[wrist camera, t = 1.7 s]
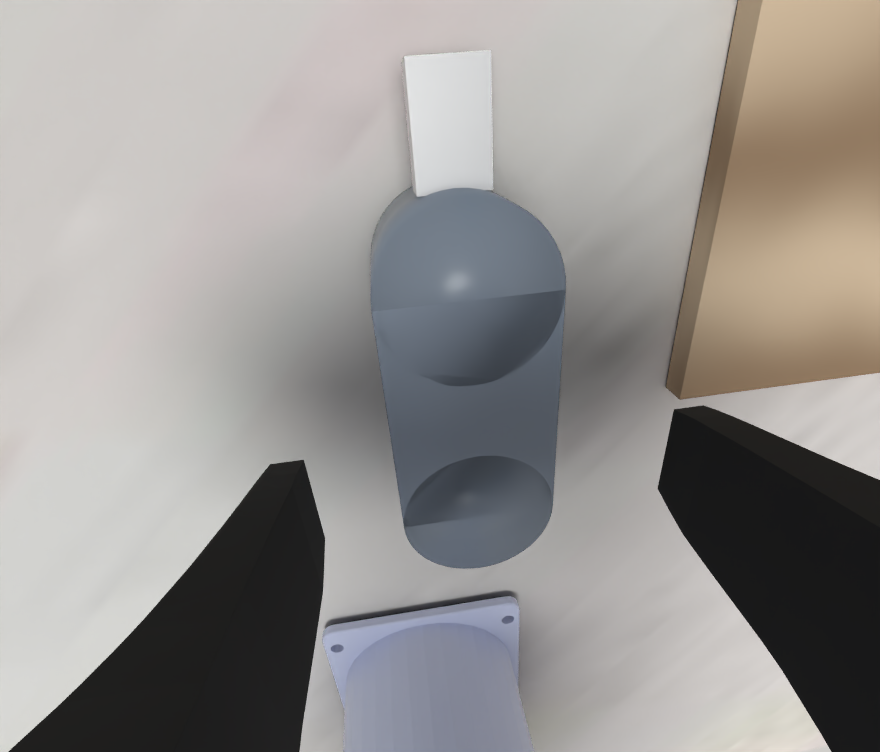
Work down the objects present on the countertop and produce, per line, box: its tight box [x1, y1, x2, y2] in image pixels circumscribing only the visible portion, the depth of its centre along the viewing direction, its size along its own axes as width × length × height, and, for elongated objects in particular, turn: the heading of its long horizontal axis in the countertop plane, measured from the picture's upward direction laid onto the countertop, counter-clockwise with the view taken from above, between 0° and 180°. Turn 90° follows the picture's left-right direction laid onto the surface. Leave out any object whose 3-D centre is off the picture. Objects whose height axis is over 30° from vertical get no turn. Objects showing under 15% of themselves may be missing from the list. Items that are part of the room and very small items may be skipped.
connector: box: [371, 50, 566, 569], centre depth 12 cm, size 12×4×4 cm, turn 4°
